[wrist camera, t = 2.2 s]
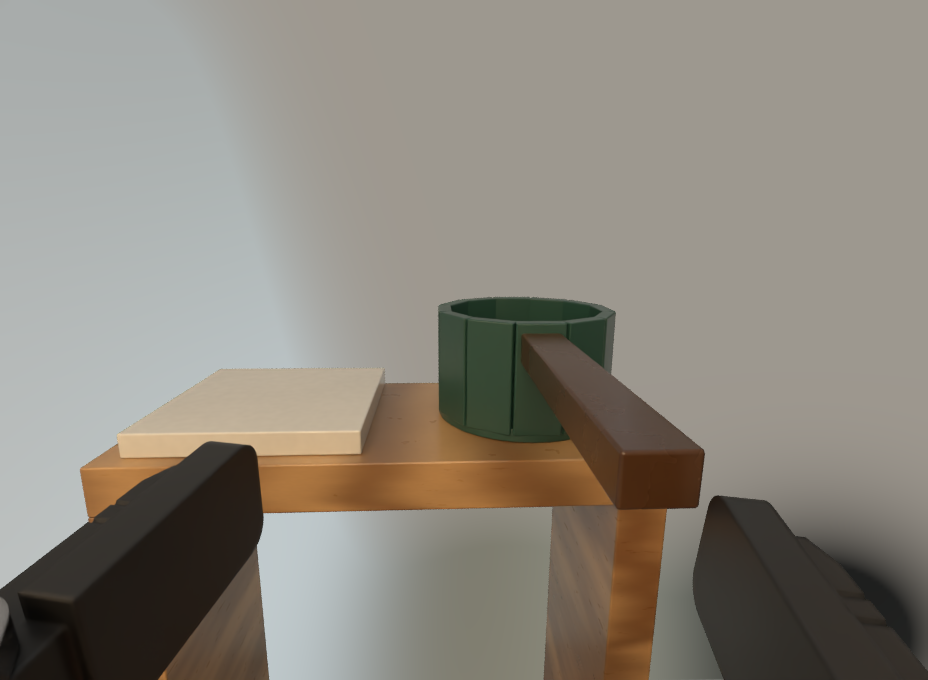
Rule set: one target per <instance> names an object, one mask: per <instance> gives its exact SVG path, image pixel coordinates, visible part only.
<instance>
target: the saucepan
mask: <svg viewBox="0 0 928 680" xmlns="http://www.w3.org/2000/svg"><path fill="white" fill-rule="evenodd" d="M615 315H616V313H615V311H613V310H611V309H609V308H606V307H604V306H602V305H598V304H592V303H586V302H580V301H574V300H565V299H551V298H550V299H549V298H537V297H532V298H530V297H493V298H492V297H487V298H475V299H462V300H456V301H452V302H448V303H444V304H441V305H439V306H438V318H439V319H438V321H439V322H438V326H439V327H438V329H439V330H438V338H439V339H438V342H439V412H440V414H441V416H442V418H443V419H444V420H445V421H446V422H448V423H449V424H450V425H452V426H454V427H456V428H457V429H460V430H462V431H464V432H467V433H470V434H473V435H476V436H480V437H484V438H489V439H495V440H501V441H509V442H522V443H544V442H557V441H564V440H570V439H571V440H572V442H573V443H574V445H575V446H576V448H577V449H578V451H579V453H580V454H581V456H582V457H583V459H584V460H585V462H586V463H587V465H588V466H589V468H590V469H591V471H592V473H593V474H594V476H595V477H596V479H597V480H598V482H599V483H600V485H601V486H602V488H603V489H604V491H605V492H606V494H607V496H608V497H609V499H610V500H611V502H612V503H613V505H614V506H615V508H616V509H619V510H636V509H676V508H677V509H678V508H696V507H698V505H699V497H700V488H701V481H702V472H703V465H704V456H705V453H704V450H703V449H702V448H701V447H700V446H698V445H697V444H696V443H695V442H693V441H692V440H691V439H690V438H689V437H687V436H686V435H685V434H684V433H682V432H681V431H680V430H679V429H677V428H676V427H675V426H674V425H672V424H671V423H670V422H669V421H668V420H666V419H665V418H664V417H663V416H662V415H660V414H659V413H658V412H657V411H655V410H654V409H653V408H652V407H650V406H649V405H648V404H646V402H644V401H643V400H642V399H641V398H639V397H638V396H637V395H635V394H634V393H633V392H632V391H631V390H630V389H628V388H627V387H626V386H625V385H623V384H622V383H621V382H619V381H618V380H617V379H616V378H615V377H614V376H612V375H611V368H612V355H613V341H614V327H615Z"/></svg>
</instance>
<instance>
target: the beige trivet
mask: <svg viewBox="0 0 928 680" xmlns="http://www.w3.org/2000/svg"><path fill="white" fill-rule="evenodd" d="M384 385H385V369H384V368H300V369H299V368H297V369H296V368H294V369H220V370H218V371H217V372H215V373H213V374H212V375H210V376H209V377H207V378H205V379H204V380H202V381H201V382H199V383H198V384H196V385H195V386H193V387H191V388H190V389H188V390H186V391H185V392H183V393H182V394H180V395H179V396H177V397H175V398H174V399H172V400H171V401H169V402H167V403H166V404H164V405H163V406H161V407H160V408H158V409H157V410H155V411H153V412H152V413H150V414H148V415H147V416H145V417H144V418H142V419H141V420H139V421H137V422H136V423H134V424H133V425H131V426H129V427H128V428H126V429H125V430H123V431H122V432H120V433H118V434H117V440H118V447H119V453H120V458H170V457H187V456H189V455H190V454H191V453H192V452H194V451H195V450H196V449H197V448H199V447H200V446H201V445H202V444H204V443H206V442H208V441H216V442H226V443H235V444H245V445H251V446H252V447H253V448H254V449H255V451H256V454H257V456H289V455H349V454H361V453H362V450H363V447H364V444H365V441H366V438H367V435H368V433H369V430H370V427H371V424H372V421H373V418H374V415H375V412H376V409H377V406H378V403H379V400H380V397H381V394H382V391H383V388H384Z"/></svg>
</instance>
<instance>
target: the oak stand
mask: <svg viewBox="0 0 928 680" xmlns="http://www.w3.org/2000/svg"><path fill="white" fill-rule="evenodd" d="M185 458H186V457H170V458H120V453H119V447H118V444H116V445H115V446H114V447H112V448H110V449H109V450H107V451H106V452H104V453H103V454H101V455H100V456H98V457H97V458H95V459H94V460H92V461H91V462H89V463H88V464H86V465H85V466H83V467H82V468H81V469H80V473H81V479H82V485H83V490H84V497H85V502H86V508H87V513H88V516H89V519H88V520H89V522H90V523H92V522H93V520H94V517H95V516H97V515H98V514H99V513H100V512H102V511H103V510H104V509H106V508H107V507H108V506H110V505H115V503H116V500H117V499H119V498H120V497H121V496H123V495H124V494H125V493H127V492H128V491H129V490H130V489H132V488H133V487H134V486H136V485H137V484H138V483H140V482H141V481H142V480H144V479H147V478H149V477H151V476H153V475H155V474H157V473H159V472H161V471H163V470H165V469H168V468H170V467H172V466H174V465H177V464H179V463H180V462H181V461H182V460H184V459H185ZM257 459H258V468H259V478H260V487H261V497H262V507H263V513H292V512H332V511H333V512H334V511H335V512H337V511H380V510H422V509H463V508H464V509H465V508H510V507H553V509H552V529H551V530H552V531H551V549H550V567H549V568H550V569H549V586H548V588H549V589H548V606H547V626H546V645H545V665H544V680H649V672H650V662H651V653H652V643H653V634H654V625H655V615H656V606H657V597H658V586H659V578H660V569H661V559H662V550H663V541H664V531H665V522H666V512H667V509H636V510H619V509H616V508H615V506H614V505H613V503H612V502H611V500H610V499H609V497H608V496H607V494H606V492H605V491H604V489H603V488H602V486H601V485H600V483H599V482H598V480H597V479H596V477H595V476H594V474H593V473H592V471H591V469H590V468H589V466H588V465H587V463H586V462H585V460H584V459H583V457H582V456H581V454H580V453H579V451H578V449H577V448H576V446H575V445H574V443H573V442H572V440H571V439H570V440H564V441H557V442H544V443H522V442H509V441H501V440H495V439H489V438H484V437H480V436H476V435H473V434H470V433H467V432H464V431H462V430H460V429H457V428H456V427H454V426H452V425H450V424H449V423H448V422H446V421H445V420H444V419H443V418H442V416H441V414H440V412H439V383H388V384H387V383H385V385H384V388H383V391H382V394H381V397H380V400H379V403H378V406H377V409H376V412H375V415H374V418H373V421H372V424H371V427H370V430H369V433H368V435H367V438H366V441H365V444H364V447H363V450H362V453H361V454H349V455H289V456H257ZM158 680H269V673H268V663H267V651H266V640H265V631H264V619H263V608H262V597H261V587H260V576H259V565H258V554H257V546H256V548H255V550H254V552H253V553H252V555H251V556H250V557H249V559H248V560H247V561H246V563H245V564H244V565H243V567H242V568H241V569H240V571H239V572H238V573H237V575H236V576H235V577H234V579H233V580H232V581H231V583H230V584H229V585H228V587H227V588H226V589H225V591H224V592H223V593H222V595H221V596H220V597H219V599H218V600H217V601H216V603H215V604H214V605H213V607H212V608H211V610H210V611H209V612H208V614H207V615H206V616H205V618H204V619H203V620H202V622H201V623H200V624H199V626H198V627H197V628H196V630H195V631H194V632H193V634H192V635H191V636H190V638H189V639H188V640H187V642H186V643H185V644H184V646H183V647H182V648H181V650H180V651H179V652H178V654H177V655H176V656H175V658H174V659H173V660H172V662H171V663H170V664H169V666H168V667H167V668H166V670H165V671H164V672H163V674H162V675H161V676H160V678H159V679H158Z"/></svg>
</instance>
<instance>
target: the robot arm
mask: <svg viewBox="0 0 928 680" xmlns="http://www.w3.org/2000/svg"><path fill="white" fill-rule="evenodd" d="M262 528H263V507H262V497H261V487H260V478H259V468H258V459H257V454H256V451H255V449H254V448H253V447H252V446H251V445H245V444H235V443H226V442H216V441H208V442H206V443H204V444H202V445H201V446H200V447H199V448H197V449H196V450H195V451H194V452H192V453H191V454H190V455H189V456H187V457H186V458H185V459H184V460H182V461H181V462H180V463H179V464H177V465H174V466H172V467H170V468H168V469H165V470H163V471H161V472H159V473H157V474H155V475H153V476H151V477H149V478H147V479H144V480H142V481H141V482H140V483H138V484H137V485H136V486H134V487H133V488H132V489H130V490H129V491H128V492H127V493H125V494H124V495H123V496H121V497H120V498H119V499H117V500H116V503H115V505H110V506H108V507H107V508H106V509H104V510H103V511H102V512H100V513H99V514H98V515H97V516H95V517H94V520H93V522H92V523H90V522H87V523H86V524H85V525H84V526H82V527H81V528H80V529H78V530H77V531H76V532H74V534H72V535H71V536H69V537H68V538H67V539H65V540H64V541H63V542H62V543H60V544H59V545H58V546H56V547H55V548H54V549H52V550H51V551H50V552H49V553H47V554H46V555H44V556H43V557H42V558H41V559H39V560H38V561H37V562H36V563H34V564H33V565H32V566H30V567H29V568H28V569H26V570H25V571H24V572H22V573H21V574H20V575H18V576H17V577H16V578H14V579H13V580H12V581H11V582H9V583H8V584H7V585H6V586H4V587H3V588H1V589H0V680H158V679H159V678H160V676H161V675H162V674H163V672H164V671H165V670H166V668H167V667H168V666H169V664H170V663H171V662H172V660H173V659H174V658H175V656H176V655H177V654H178V652H179V651H180V650H181V648H182V647H183V646H184V644H185V643H186V642H187V640H188V639H189V638H190V636H191V635H192V634H193V632H194V631H195V630H196V628H197V627H198V626H199V624H200V623H201V622H202V620H203V619H204V618H205V616H206V615H207V614H208V612H209V611H210V610H211V608H212V607H213V605H214V604H215V603H216V601H217V600H218V599H219V597H220V596H221V595H222V593H223V592H224V591H225V589H226V588H227V587H228V585H229V584H230V583H231V581H232V580H233V579H234V577H235V576H236V575H237V573H238V572H239V571H240V569H241V568H242V567H243V565H244V564H245V563H246V561H247V560H248V559H249V557H250V556H251V555H252V553H253V552H254V550H255V548H256V546H257V544H258V542H259V539H260V536H261V533H262ZM693 594H694V600H695V605H696V609H697V612H698V615H699V617H700V620H701V623H702V625H703V628H704V630H705V633H706V635H707V638H708V640H709V643H710V645H711V648H712V651H713V653H714V655H715V658H716V661H717V663H718V666H719V668H720V671H721V674H722V676H723V679H724V680H928V671H927V670H926V669H925V667H924V666H923V665H922V664H921V663H920V661H919V660H918V659H917V658H916V657H915V655H914V654H913V653H912V652H911V650H910V649H909V648H908V647H907V645H906V644H905V643H904V642H903V641H902V639H901V638H900V637H899V636H898V634H897V633H896V632H895V631H894V629H893V628H892V627H887V625H886V620H885V618H884V617H883V616H882V615H881V614H880V612H879V611H878V610H877V609H876V608H875V607H874V605H873V604H872V603H871V601H870V600H866V599H865V598H864V593H863V592H862V590H861V589H860V588H859V587H858V585H857V584H856V583H855V582H854V581H853V579H852V578H851V577H850V576H849V575H848V573H847V572H846V571H845V569H844V568H843V567H842V566H841V565H840V564H839V563H838V562H837V561H835V560H834V559H833V558H832V557H830V556H829V555H828V554H826V553H825V552H824V551H822V550H821V549H820V548H819V547H817V546H816V545H815V544H813V543H812V542H811V541H809V540H808V539H807V538H805V537H798V536H795V535H794V534H793V533H792V532H791V530H790V529H789V527H788V526H787V525H786V523H785V522H784V521H783V519H782V518H781V517H780V515H779V514H778V513H777V511H776V510H775V509H774V508H773V506H772V505H771V504H770V503H769V502H767V501H765V500H756V499H746V498H737V497H727V496H714V497H713V498H712V499H711V501H710V503H709V506H708V510H707V514H706V519H705V523H704V527H703V532H702V537H701V541H700V545H699V549H698V554H697V558H696V562H695V567H694V572H693Z"/></svg>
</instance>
